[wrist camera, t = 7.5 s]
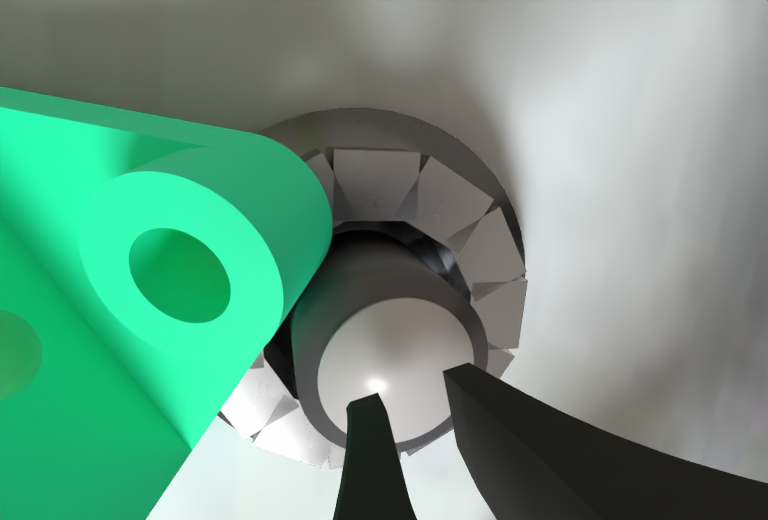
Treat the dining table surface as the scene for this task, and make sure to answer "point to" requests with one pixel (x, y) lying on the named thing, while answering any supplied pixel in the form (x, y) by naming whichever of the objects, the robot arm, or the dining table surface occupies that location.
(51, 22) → the dining table surface
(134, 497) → the camera mount
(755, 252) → the dining table surface
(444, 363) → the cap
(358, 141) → the grey knurled ring
